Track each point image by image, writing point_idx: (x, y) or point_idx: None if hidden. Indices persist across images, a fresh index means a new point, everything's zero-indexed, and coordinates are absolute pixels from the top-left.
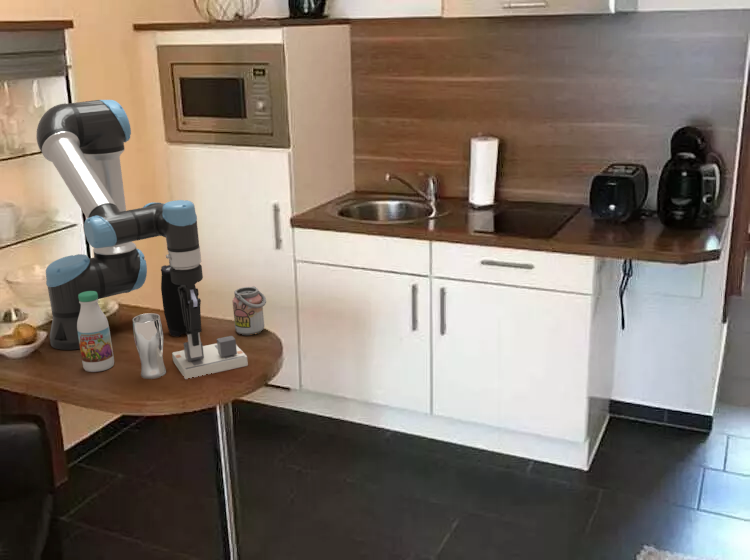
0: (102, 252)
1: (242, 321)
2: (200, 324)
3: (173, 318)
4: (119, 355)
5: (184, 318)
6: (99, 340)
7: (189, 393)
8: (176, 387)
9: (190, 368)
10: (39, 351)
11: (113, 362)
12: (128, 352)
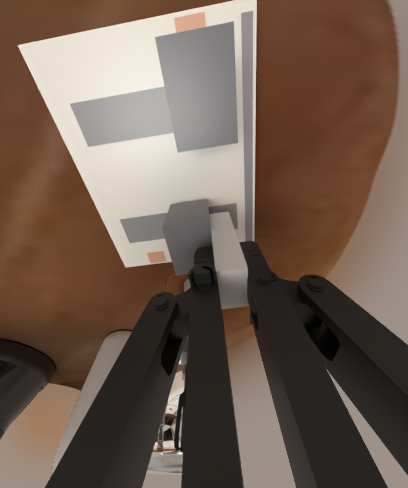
0: None
1: None
2: (378, 324)
3: None
4: (82, 324)
5: (175, 369)
6: None
7: (326, 236)
8: (278, 255)
9: (253, 237)
10: (58, 384)
11: (129, 335)
12: (68, 314)
